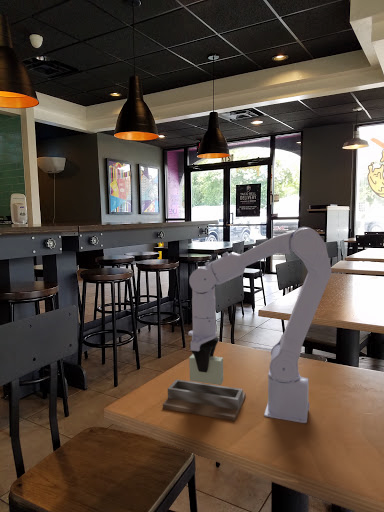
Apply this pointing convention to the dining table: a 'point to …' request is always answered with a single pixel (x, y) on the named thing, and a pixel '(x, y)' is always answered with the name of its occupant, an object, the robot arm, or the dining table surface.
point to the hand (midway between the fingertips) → (204, 368)
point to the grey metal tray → (204, 399)
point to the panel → (212, 374)
